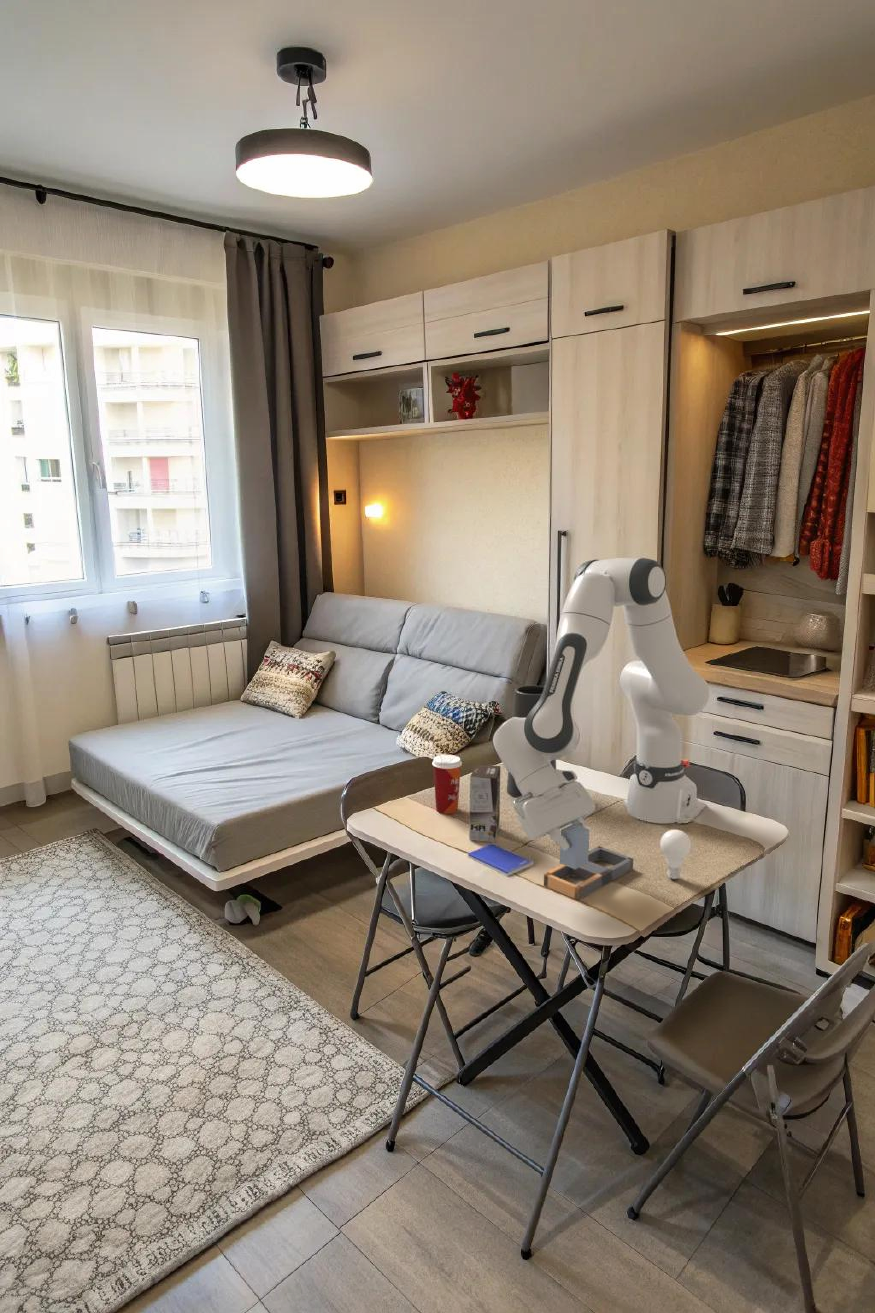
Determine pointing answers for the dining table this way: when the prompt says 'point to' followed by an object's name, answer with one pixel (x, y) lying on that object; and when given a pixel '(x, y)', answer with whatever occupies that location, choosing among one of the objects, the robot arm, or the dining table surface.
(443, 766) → the paper cup
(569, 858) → the plug
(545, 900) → the dining table surface
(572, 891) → the grey orange rectangular frame
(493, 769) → the coffee box
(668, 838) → the lightbulb
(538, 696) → the vase
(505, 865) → the hard drive
